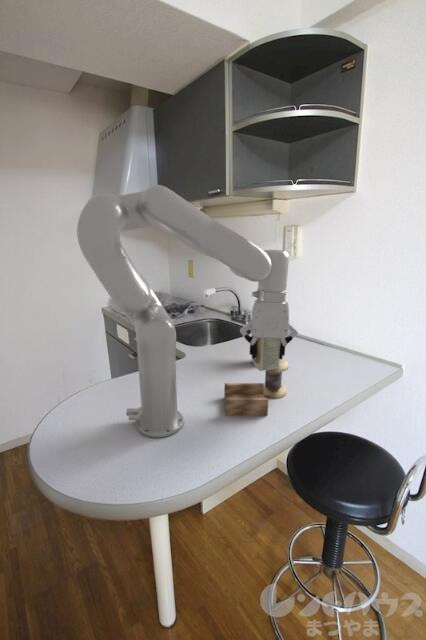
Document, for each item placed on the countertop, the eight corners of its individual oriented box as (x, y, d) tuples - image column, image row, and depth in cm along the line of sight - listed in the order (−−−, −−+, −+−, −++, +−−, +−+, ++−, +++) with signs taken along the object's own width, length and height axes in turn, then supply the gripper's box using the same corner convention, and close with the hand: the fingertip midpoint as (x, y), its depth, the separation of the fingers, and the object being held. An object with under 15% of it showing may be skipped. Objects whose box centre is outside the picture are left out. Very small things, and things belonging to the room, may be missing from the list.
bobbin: (260, 398, 100) (262, 369, 97) (257, 384, 108) (258, 357, 105) (289, 398, 100) (291, 369, 97) (283, 384, 108) (285, 357, 105)
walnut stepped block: (225, 415, 91) (225, 400, 89) (224, 397, 100) (224, 383, 99) (267, 415, 91) (268, 400, 89) (262, 397, 100) (262, 383, 99)
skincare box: (272, 363, 95) (275, 323, 91) (279, 369, 91) (283, 328, 87) (252, 365, 93) (255, 325, 89) (259, 371, 89) (262, 329, 85)
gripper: (240, 298, 82) (237, 361, 87) (307, 300, 82) (300, 363, 87) (238, 292, 89) (235, 351, 94) (299, 294, 89) (293, 353, 94)
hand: (266, 356), depth 91 cm, fingers closed on skincare box, 7 cm apart
